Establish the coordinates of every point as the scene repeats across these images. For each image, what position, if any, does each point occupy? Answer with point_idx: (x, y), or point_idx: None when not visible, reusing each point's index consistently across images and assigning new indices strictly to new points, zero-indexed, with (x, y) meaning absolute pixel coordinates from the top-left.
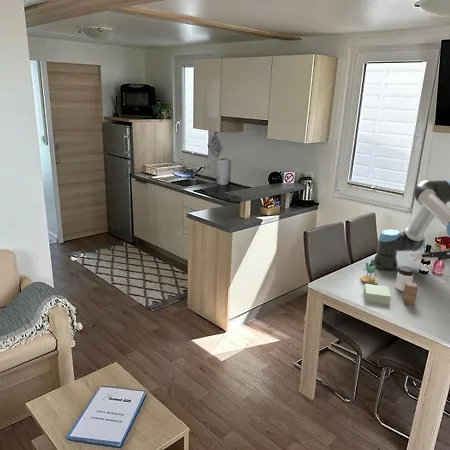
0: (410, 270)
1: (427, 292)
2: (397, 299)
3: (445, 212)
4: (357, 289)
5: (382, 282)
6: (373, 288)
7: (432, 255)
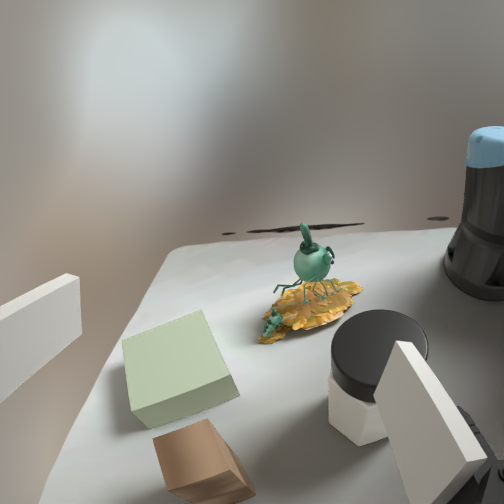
0: (373, 371)
1: None
2: None
3: None
4: (212, 315)
5: None
6: (173, 343)
7: (434, 414)
